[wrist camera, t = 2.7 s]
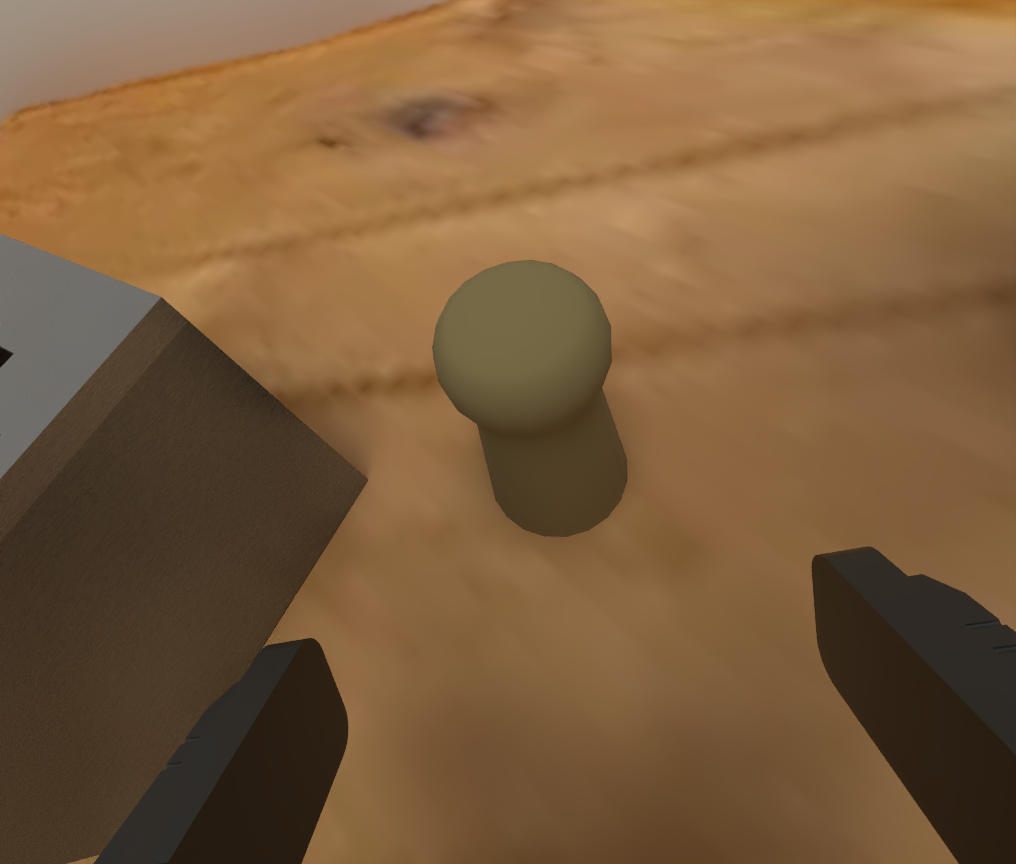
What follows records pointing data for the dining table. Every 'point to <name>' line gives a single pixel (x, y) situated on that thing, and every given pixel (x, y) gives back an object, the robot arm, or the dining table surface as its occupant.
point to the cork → (535, 392)
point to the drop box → (131, 542)
